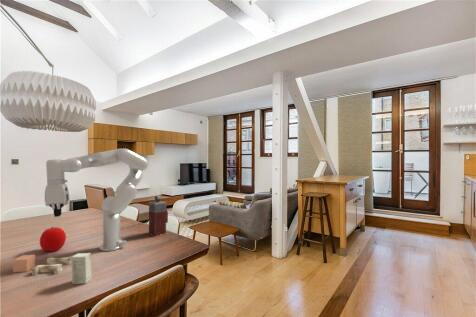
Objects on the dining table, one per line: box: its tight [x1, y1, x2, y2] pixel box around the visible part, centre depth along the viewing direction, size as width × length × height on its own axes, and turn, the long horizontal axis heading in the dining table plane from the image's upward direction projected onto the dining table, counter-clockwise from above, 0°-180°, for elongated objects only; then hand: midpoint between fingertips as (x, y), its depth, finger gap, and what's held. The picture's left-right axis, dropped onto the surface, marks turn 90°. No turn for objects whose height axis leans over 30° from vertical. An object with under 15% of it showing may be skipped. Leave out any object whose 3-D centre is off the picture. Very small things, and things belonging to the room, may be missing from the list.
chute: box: [31, 254, 75, 276], centre depth 119 cm, size 11×14×3 cm
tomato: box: [39, 226, 67, 252], centre depth 141 cm, size 13×11×14 cm
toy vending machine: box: [148, 195, 169, 237], centre depth 172 cm, size 9×11×28 cm
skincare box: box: [71, 252, 92, 285], centre depth 106 cm, size 6×4×12 cm
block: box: [12, 254, 36, 273], centre depth 117 cm, size 6×6×6 cm
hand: (57, 216), depth 127 cm, fingers closed
